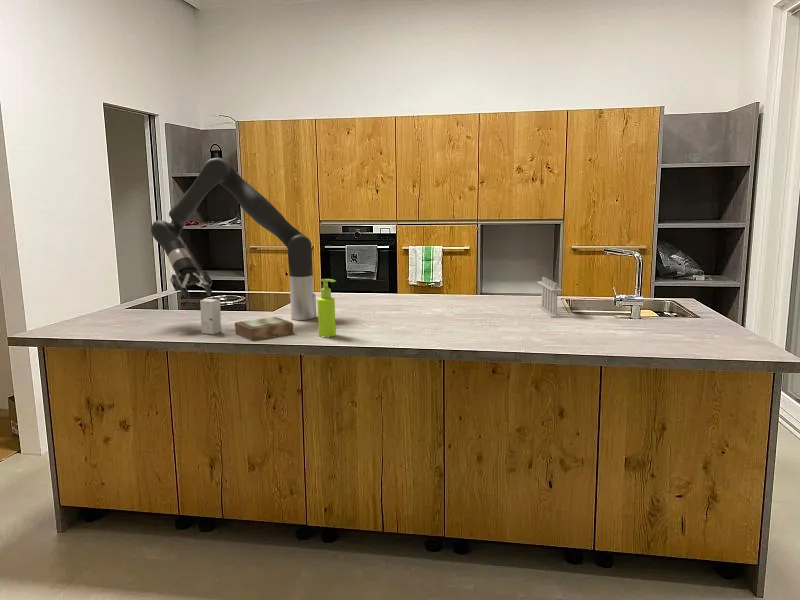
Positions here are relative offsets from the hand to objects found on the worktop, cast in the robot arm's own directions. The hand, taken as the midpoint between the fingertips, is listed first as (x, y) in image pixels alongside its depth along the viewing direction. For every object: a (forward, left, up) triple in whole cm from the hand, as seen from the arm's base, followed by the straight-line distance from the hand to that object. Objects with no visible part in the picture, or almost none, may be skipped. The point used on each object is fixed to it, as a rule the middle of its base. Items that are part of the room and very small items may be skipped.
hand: (199, 296), depth 226 cm
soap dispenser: (-31, +39, -13) cm, 52 cm away
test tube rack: (-123, +60, -13) cm, 138 cm away
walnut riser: (-15, +21, -13) cm, 29 cm away
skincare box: (-1, +7, -13) cm, 15 cm away
